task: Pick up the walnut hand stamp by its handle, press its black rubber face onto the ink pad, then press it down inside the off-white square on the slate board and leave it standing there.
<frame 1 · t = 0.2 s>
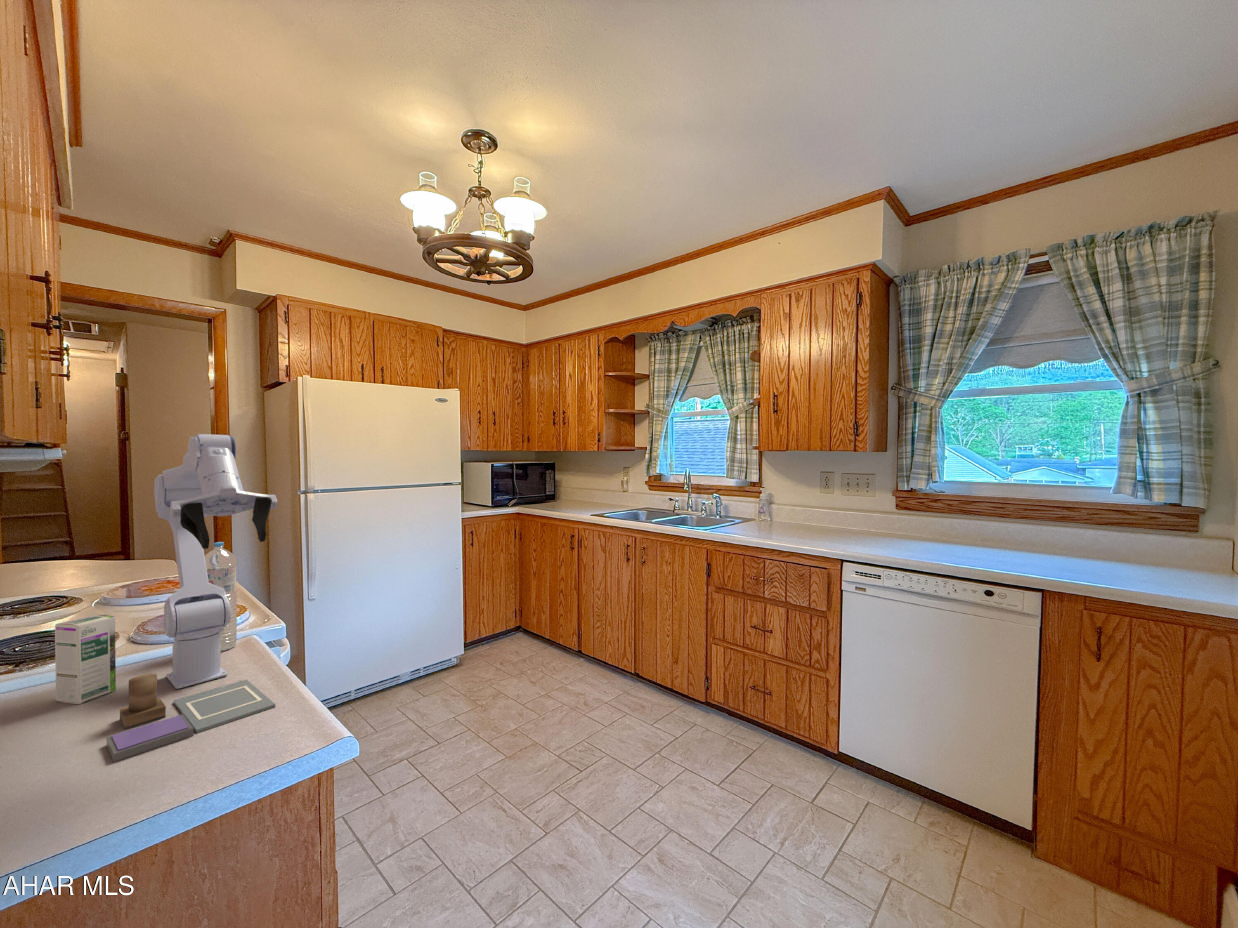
hand: (235, 541, 82), 31 cm above the counter, tool tilted 45°, fingers open, 7 cm apart
water bottle: (218, 649, 115), on the counter
stamp: (142, 718, 84), on the counter
ink pad: (150, 739, 78), on the counter
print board: (224, 704, 89), on the counter
syrup box: (85, 697, 92), on the counter
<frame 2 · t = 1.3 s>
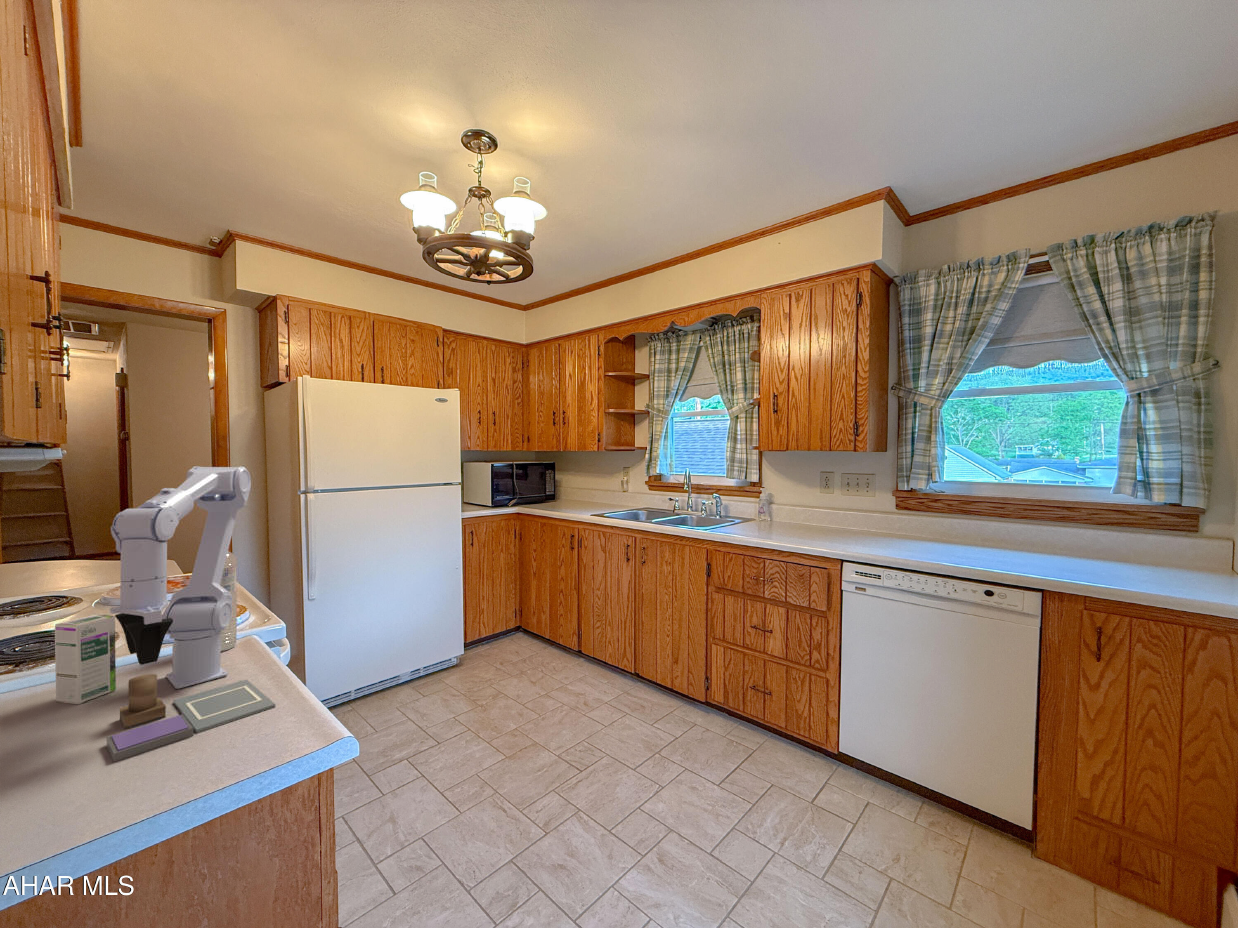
hand: (143, 657, 84), 11 cm above the counter, tool pointing down, fingers open, 7 cm apart
nothing on the counter moved.
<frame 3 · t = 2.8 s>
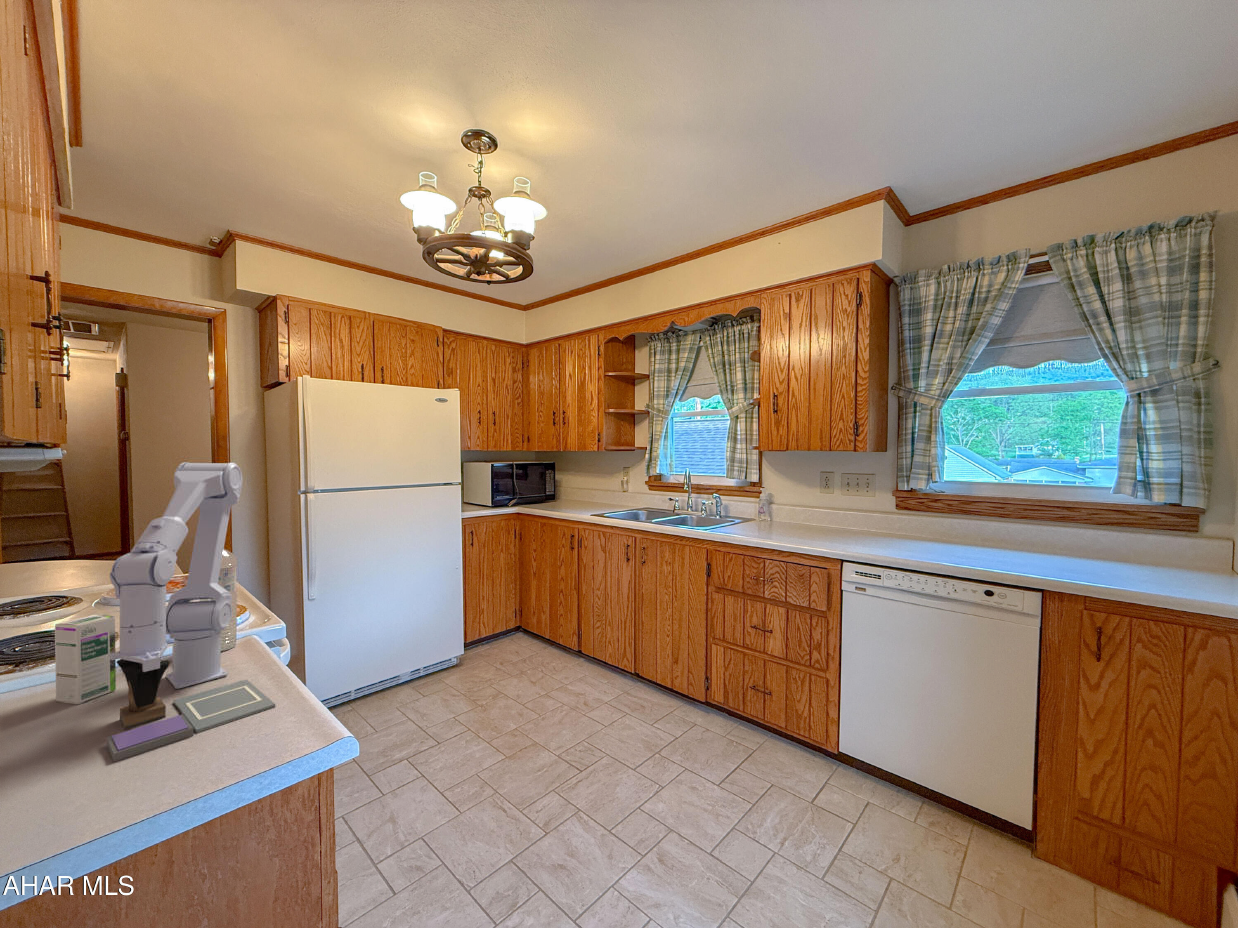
hand: (142, 701, 84), 3 cm above the counter, tool pointing down, fingers closed on stamp, 3 cm apart
stamp: (142, 718, 84), on the counter, touching gripper
everything else where it was.
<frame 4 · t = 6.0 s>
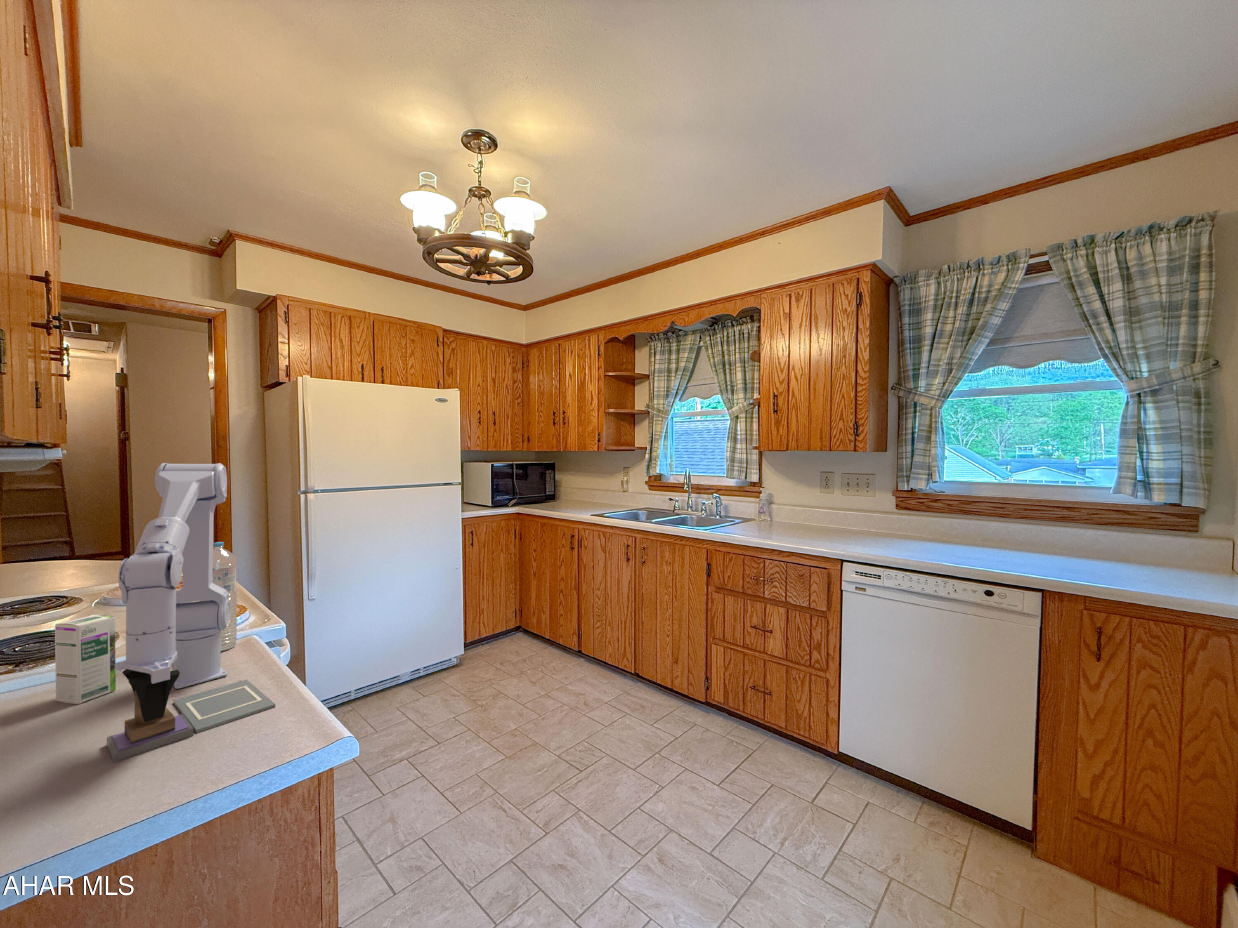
hand: (150, 714, 78), 4 cm above the counter, tool pointing down, fingers closed on stamp, 3 cm apart
stamp: (149, 731, 78), point 1 cm above the counter, touching gripper, ink pad
everything else where it was.
when the fingers open (3 cm above the counter, at t = 9.3 s): stamp stays where it is, resting on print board.
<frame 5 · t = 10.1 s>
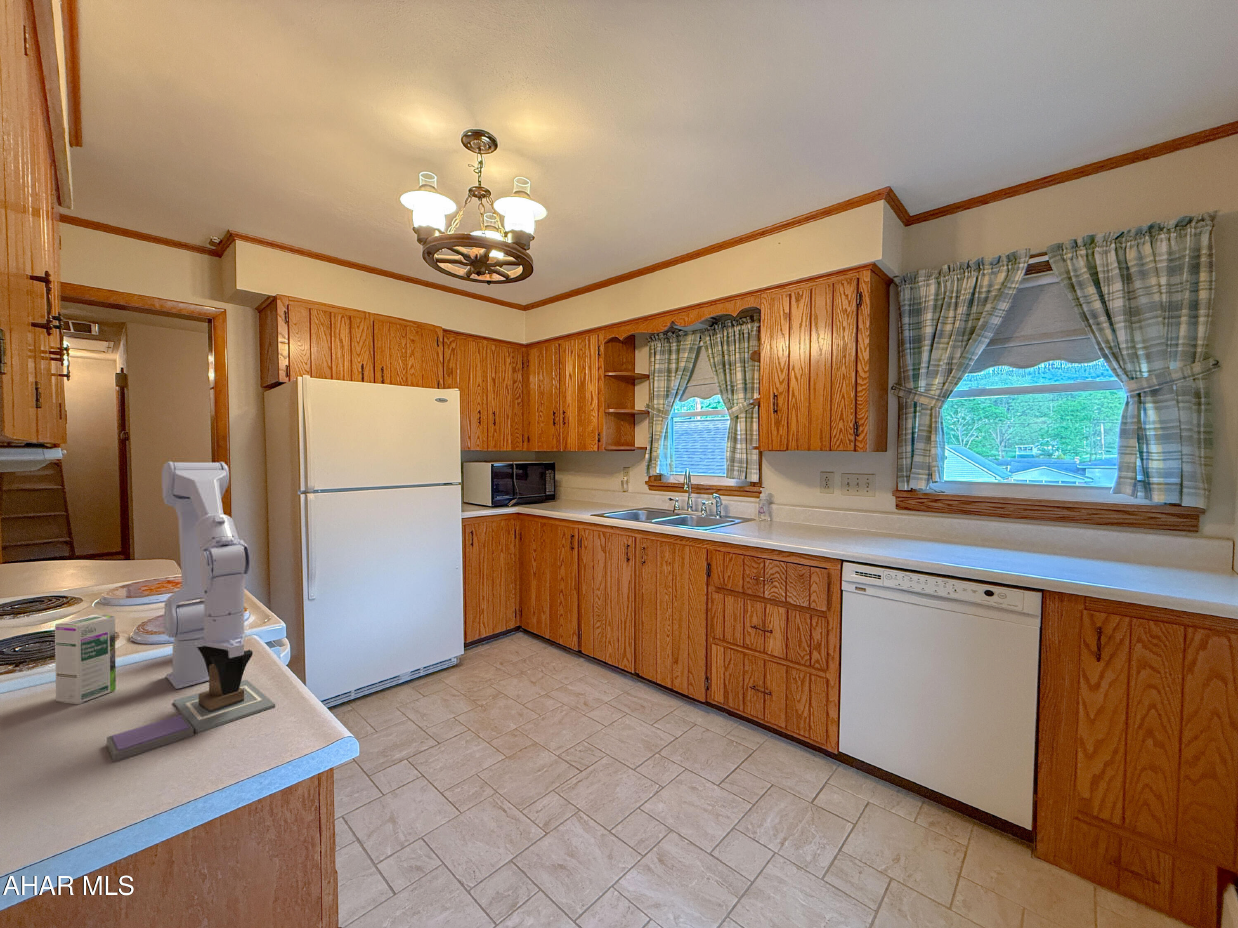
hand: (224, 686, 89), 3 cm above the counter, tool pointing down, fingers open, 7 cm apart
stamp: (221, 702, 89), resting on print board
everything else where it was.
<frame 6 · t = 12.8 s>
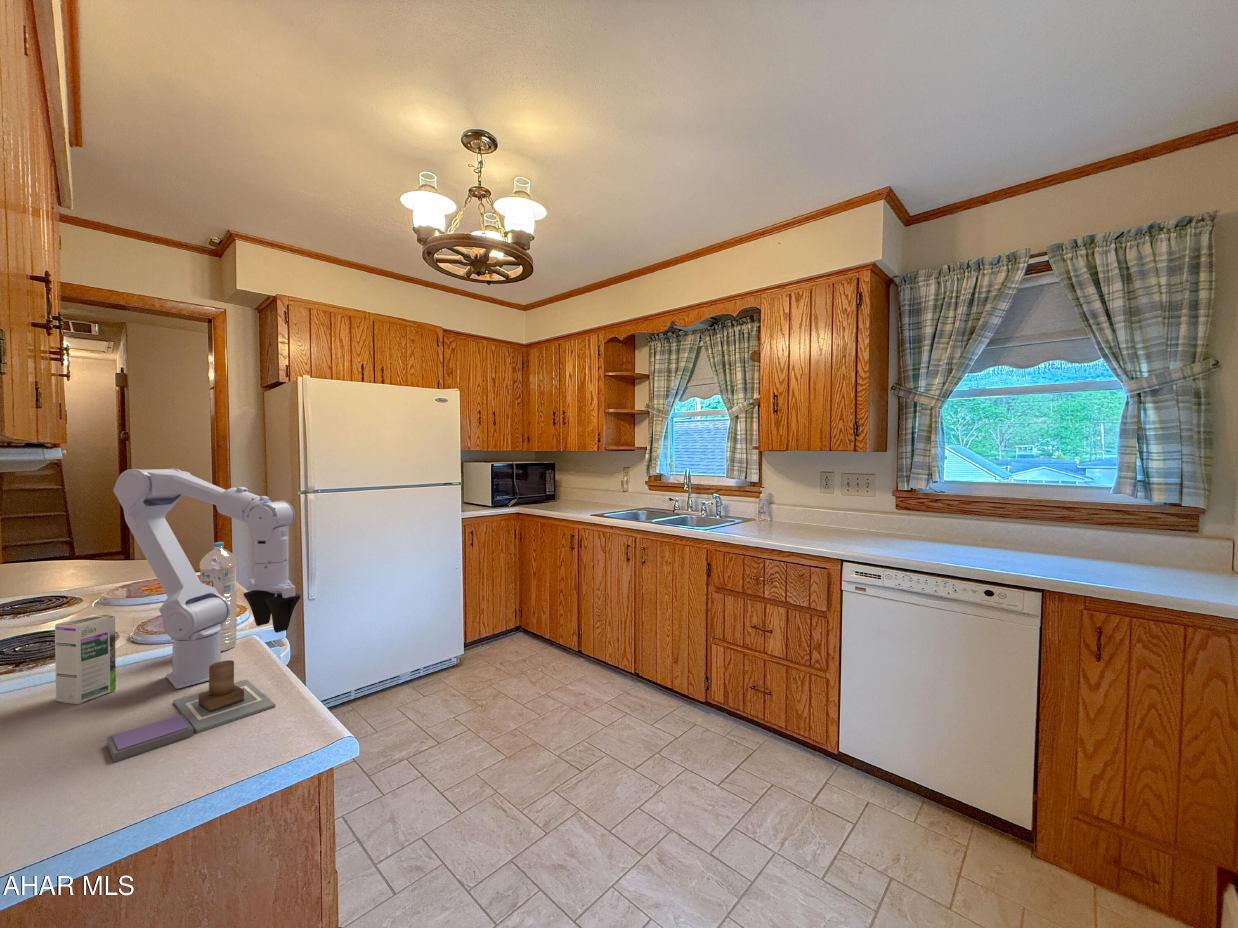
hand: (271, 627, 100), 10 cm above the counter, tool pointing down, fingers open, 7 cm apart
nothing on the counter moved.
at the end: stamp 0.4 cm off-centre on the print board, point 0.5 cm above the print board's base; stamp tilted 0°; the gripper is holding nothing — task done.
